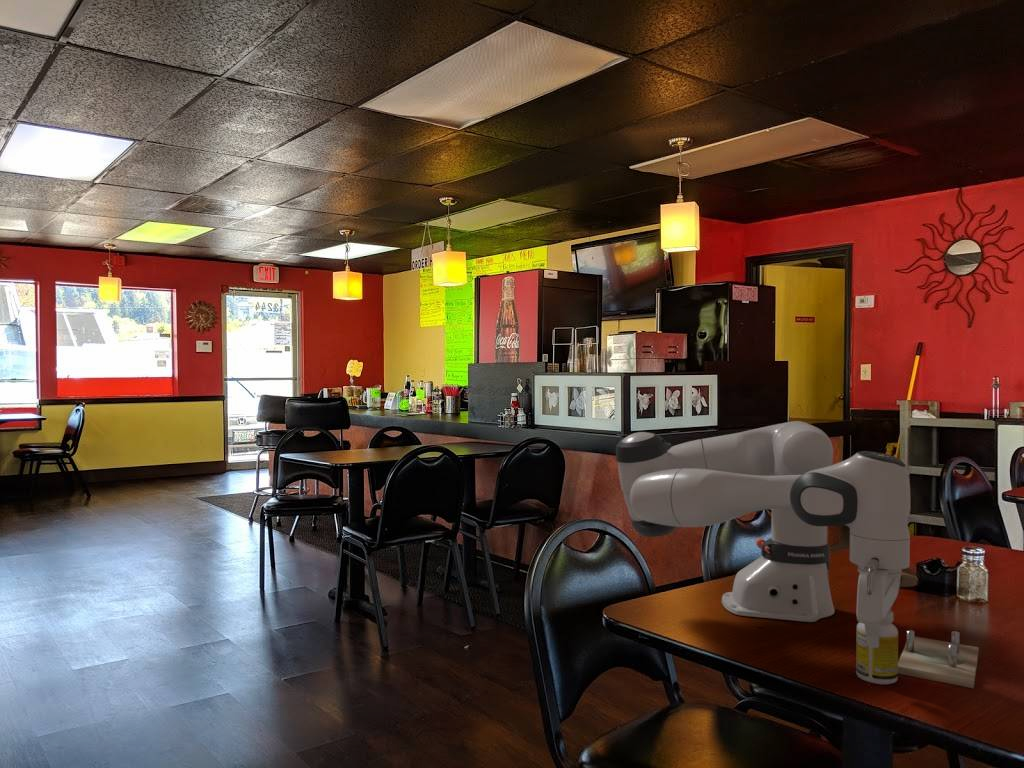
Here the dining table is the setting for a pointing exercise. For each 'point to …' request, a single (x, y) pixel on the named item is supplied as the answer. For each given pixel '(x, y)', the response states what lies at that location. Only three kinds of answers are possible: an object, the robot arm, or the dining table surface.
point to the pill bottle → (878, 654)
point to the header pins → (952, 648)
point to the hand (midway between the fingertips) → (877, 637)
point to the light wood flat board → (939, 662)
